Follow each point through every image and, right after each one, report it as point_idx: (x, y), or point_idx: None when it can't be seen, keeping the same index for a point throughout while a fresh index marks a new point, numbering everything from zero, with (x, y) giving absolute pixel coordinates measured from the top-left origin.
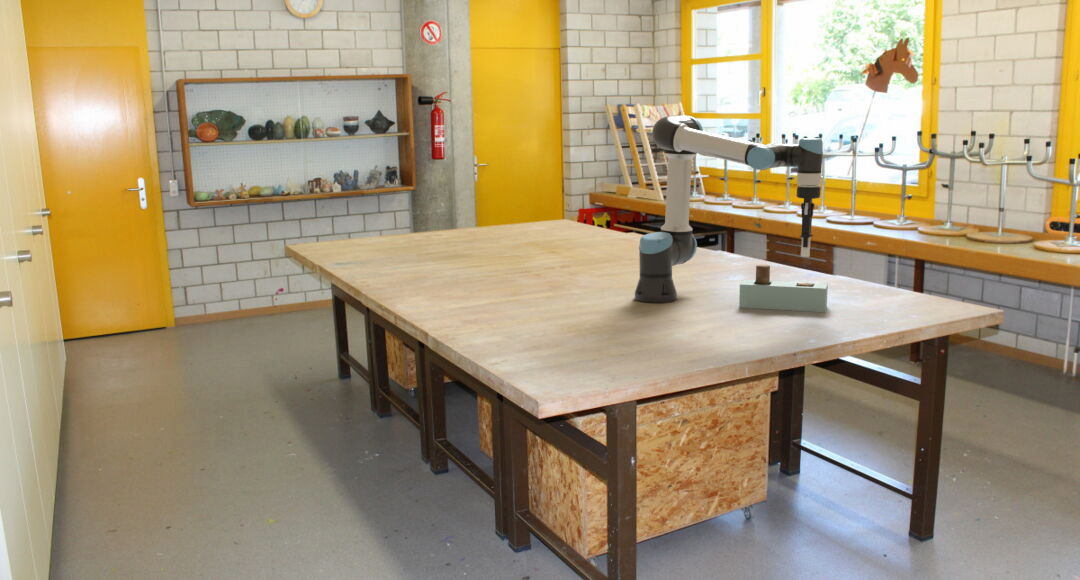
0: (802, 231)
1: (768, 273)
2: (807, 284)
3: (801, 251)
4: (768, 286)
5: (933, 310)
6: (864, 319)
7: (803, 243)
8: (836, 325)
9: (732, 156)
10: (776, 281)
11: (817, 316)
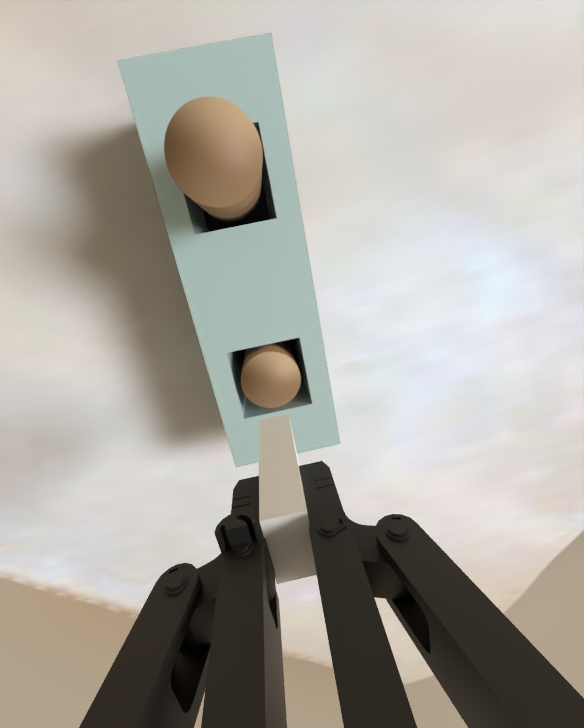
0: (129, 643)
1: (208, 210)
2: (267, 391)
3: (259, 442)
4: (168, 235)
5: (390, 610)
6: (216, 524)
7: (232, 506)
8: (102, 490)
9: None
10: (294, 236)
11: (182, 416)
